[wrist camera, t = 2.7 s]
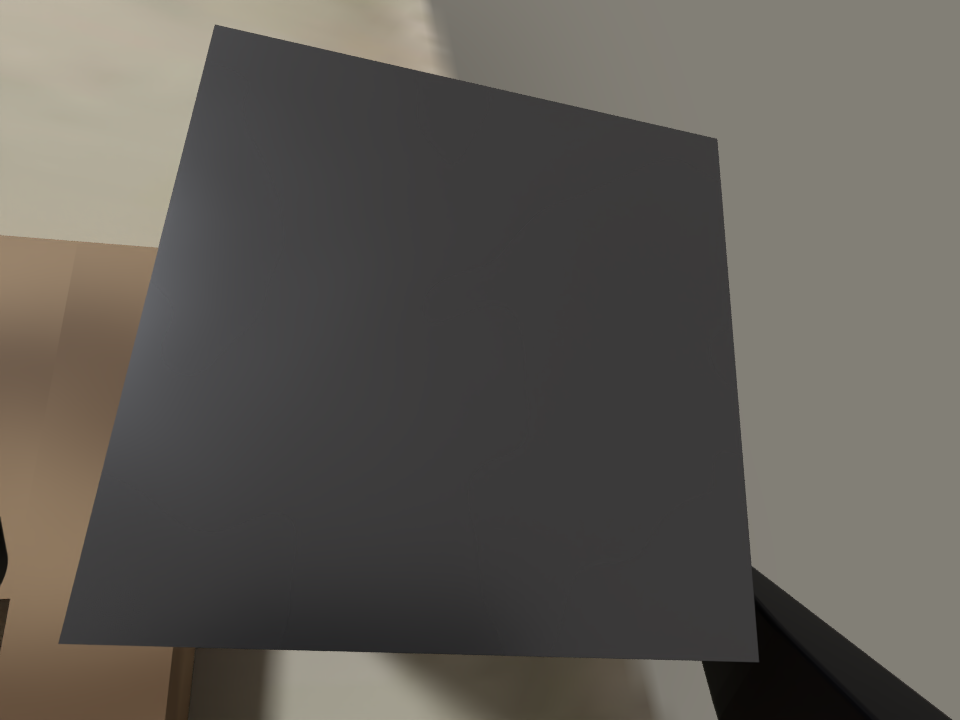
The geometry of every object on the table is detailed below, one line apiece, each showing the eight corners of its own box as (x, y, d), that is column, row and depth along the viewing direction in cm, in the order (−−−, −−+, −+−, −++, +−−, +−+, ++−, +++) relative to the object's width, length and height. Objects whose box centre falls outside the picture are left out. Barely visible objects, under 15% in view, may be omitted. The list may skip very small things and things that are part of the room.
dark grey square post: (426, 574, 17) (760, 662, 4) (277, 566, 16) (56, 644, 3) (437, 433, 18) (718, 138, 5) (300, 419, 17) (214, 24, 4)
